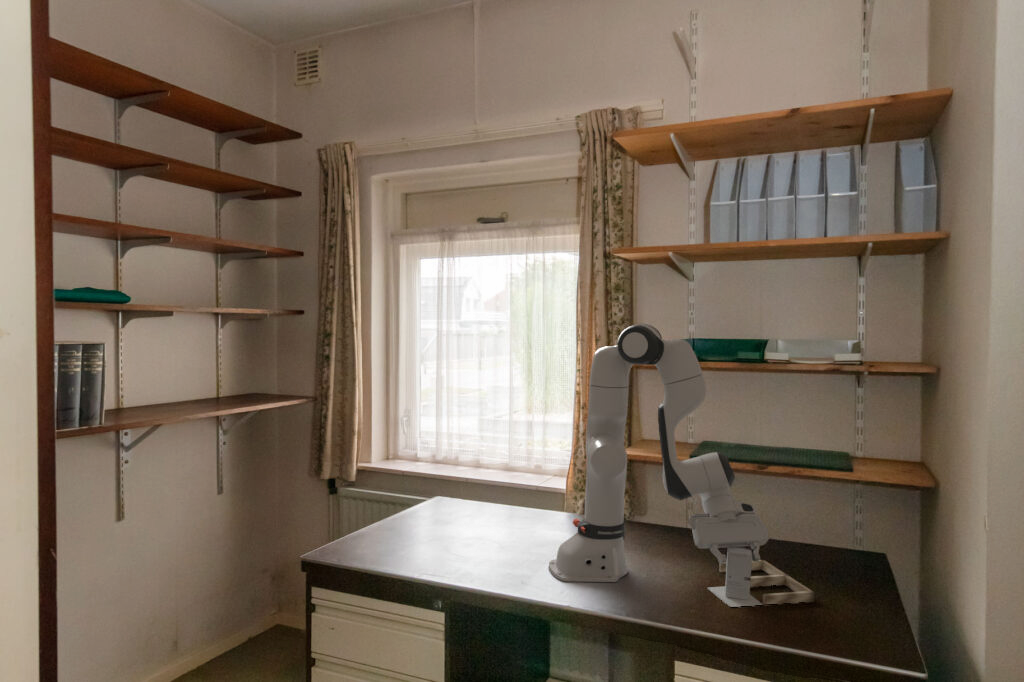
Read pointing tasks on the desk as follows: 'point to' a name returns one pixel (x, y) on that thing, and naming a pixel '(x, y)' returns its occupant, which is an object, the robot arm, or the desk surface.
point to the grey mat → (733, 601)
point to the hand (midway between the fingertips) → (740, 561)
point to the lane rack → (777, 579)
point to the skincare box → (738, 572)
